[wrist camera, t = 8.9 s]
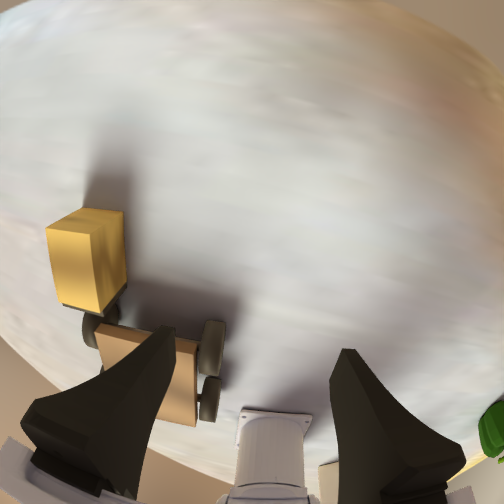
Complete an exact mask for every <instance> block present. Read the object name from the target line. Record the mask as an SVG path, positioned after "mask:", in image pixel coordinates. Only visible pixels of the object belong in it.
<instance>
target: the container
mask: <svg viewBox="0 0 504 504" xmlns="http://www.w3.org/2000/svg"><path fill="white" fill-rule="evenodd" d="M318 479H319V496H320V504H337V502H338V487H339V462H335V463H331V464H327V465H323V466H319V467H318Z"/></svg>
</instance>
